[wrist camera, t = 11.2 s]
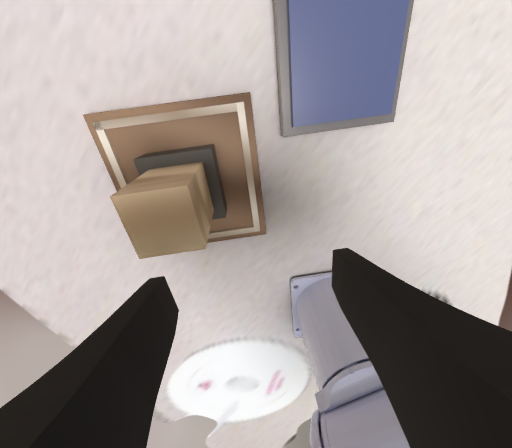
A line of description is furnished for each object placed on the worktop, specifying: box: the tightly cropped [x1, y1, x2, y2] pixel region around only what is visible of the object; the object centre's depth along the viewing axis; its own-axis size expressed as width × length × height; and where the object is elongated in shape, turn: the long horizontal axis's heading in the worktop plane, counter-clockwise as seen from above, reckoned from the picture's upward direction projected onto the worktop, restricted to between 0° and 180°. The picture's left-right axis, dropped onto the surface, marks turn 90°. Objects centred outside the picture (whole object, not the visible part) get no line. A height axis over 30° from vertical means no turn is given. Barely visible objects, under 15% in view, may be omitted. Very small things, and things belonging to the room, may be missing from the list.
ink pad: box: [273, 0, 414, 137], centre depth 14 cm, size 8×8×2 cm
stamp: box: [110, 144, 227, 259], centre depth 14 cm, size 5×5×7 cm
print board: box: [83, 92, 266, 243], centre depth 17 cm, size 11×11×1 cm
